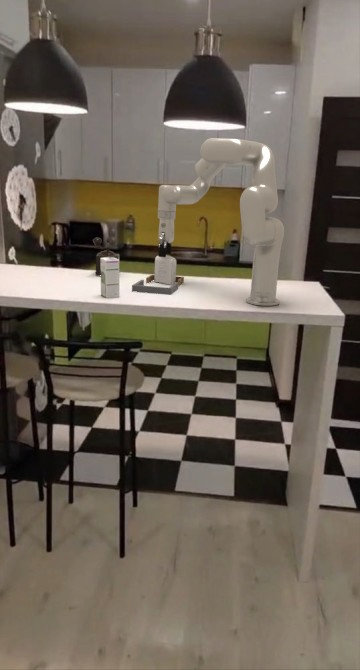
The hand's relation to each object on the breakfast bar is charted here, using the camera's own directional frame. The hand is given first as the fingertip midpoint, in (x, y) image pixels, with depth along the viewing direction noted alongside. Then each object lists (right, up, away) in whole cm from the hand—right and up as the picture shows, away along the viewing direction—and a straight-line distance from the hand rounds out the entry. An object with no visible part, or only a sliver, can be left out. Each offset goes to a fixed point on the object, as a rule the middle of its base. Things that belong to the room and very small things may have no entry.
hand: (164, 255), depth 221 cm
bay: (-3, -16, -12) cm, 20 cm away
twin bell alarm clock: (-28, -7, +16) cm, 33 cm away
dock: (0, -12, +3) cm, 12 cm away
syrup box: (-20, -20, -27) cm, 39 cm away
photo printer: (0, -12, +3) cm, 12 cm away
